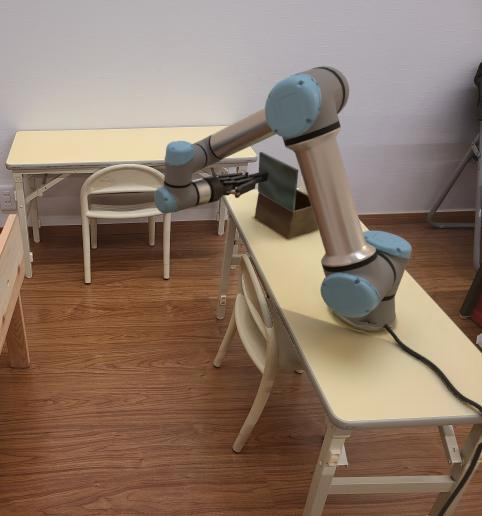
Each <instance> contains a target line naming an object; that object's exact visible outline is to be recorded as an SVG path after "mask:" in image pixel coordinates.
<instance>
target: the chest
mask: <svg viewBox="0 0 482 516" xmlns="http://www.w3.org/2000/svg"><path fill="white" fill-rule="evenodd" d="M253 218H254V219H256V220H257V221H259V222H260V223H262V224H263V225H264V226H267V228H270V229H271V230H273V231H274V232H276V233H277V234H279V235H281V236H282V237H284V238H285V239H286V240H291V239H293V238H296V237H300V236H302V235H307V234H309V233H313V232H316V231H319V230H318V226H317V223H316V220H315V216H314V213H313V210H312V207H311V203H310V200H309V197H308V195H307V194H305V193H303V192H301V191H299V189H297V190H296V201H295V211H293V212H292V211H291V210H289V209H287V208H285V207H284V206H282V205H280V204H279V203H277V202H275V201H273V200H272V199H270V198H268V197H267V196H265V195H263V194H261V193H260V192H258V193H257V199H256V206H255V211H254V217H253Z"/></svg>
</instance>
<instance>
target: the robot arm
mask: <svg viewBox="0 0 482 516" xmlns="http://www.w3.org/2000/svg"><path fill="white" fill-rule="evenodd" d="M349 97H350V85H349V82H348V79H347V77H346V76H345V75H344V74H343V73H342V72H341V71H340V70H339V69H337V68H334V67H332V66H328V65H327V66H326V65H321V66H316V67H313V68H311V69H307V70H304V71H301V72H297V73H295V74H290V75H289V76H287V77H285V78H284V79H282V80H280V81H279V82H277V83H276V84H275V85H274V86H273V87H272V88H271V90H270V91H269V93H268V95H267V97H266V100H265V104H264V106H263V107H261V108H259V109H257V110H255V111H253V112H251V113H250V114H248V115H246V116H244V117H242V118H240V119H238V120H237V121H234V122H233V123H231V124H229V125H227V126H225V127H223V128H221V129H220V130H218V131H216V132H214V133H213V134H210V135H208V136H206V137H204V138H203V139H200V140H198V141H196V142H194V143H191V142H189V141H185V140H176V141H171V142H169V143H168V144H167V145H166V147H165V156H164V174H163V175H164V176H163V177H164V178H163V185H162V186H160V187H158V188H157V189H156V190H155V191H154V194H153V200H154V201H153V202H154V204H155V208H156V209H157V211H159V212H160V213H161V214H163V215H164V214H165V215H166V214H171V213H177V212H181V211H183V210H187V209H190V208H196V207H199V206H202V205H206V204H211V203H216V202H218V201H220V200H221V199H222V197H223V196H224V197H225V196H230V195H234V198H235V199H239V198H240V197H241V196H242V195H244V194H246V193H249V192H251V191H252V190H255V189H256V184H257V185H258V183H261V182H264V181H267V180H268V175H269V172H267V171H263V172H259V171H258V172H255V173H249V171H245V172H244V173H243V172H233V173H223V174H212V175H210V176H206V177H201V178H197V179H193V180H192V178H193V174H195V173H196V172H199V171H201V170H203V169H204V168H207V167H209V166H212V165H214V164H217V163H219V162H221V161H222V160H224V159H226V158H228V157H230V156H233V155H235V154H236V153H239V152H241V151H243V150H245V149H247V148H250V147H252V146H254V145H256V144H259V143H260V142H262V141H265V140H267V139H269V138H271V137H273V136H275V135H277V136H279V137H281V138H282V140H283V145H284V147H285V148H286V149H288V150H290V151H292V152H293V153H294V154H295V157H296V161H297V165H298V166H299V170H300V171H299V172H300V175H301V174H302V177H303V181H304V184H305V187H306V190H307V194H308V197H309V200H310V203H311V207H312V210H313V213H314V216H315V220H316V223H317V226H318V230H317V231H318V233H319V236H320V239H321V242H322V246H323V249H324V255H323V256H322V258H321V259H320V263H321V267H322V271H323V274H324V276H325V277H324V278H323V280H322V282H321V285H320V289H319V290H320V297H321V299H322V300H323V302H324V304H325V305H326V306H327V307H328V308H329V309H331V312H332V314H333V316H334V317H335V318H336V319H337V320H338V321H339V322H341V323H342V324H343V325H345V326H347V327H349V328H351V329H353V330H355V331H356V330H357V331H360V332H363V333H370V334H371V333H372V334H377V333H384V332H386V331H387V333H389V335H390V336H391V337H392V339H393V340H394V341H395V342H396V343H397V345H399V346H400V347H401V348H402V349H403V350H404V351H406V352H408V353H409V354H410V355H412V356H414V357H415V358H417V359H419V360H421V361H422V362H424V364H427V365H428V366H429V367H430V368H432V369H433V370H434V371H435V372H436V374H438V375H439V376H440V378H441V379H442V380H443V383H444V384H445V385H446V386H447V387H448V389H450V391H451V392H452V393H453V394H454V395H455V396H456V397H457V398H459V400H461V401H463V402H464V403H466V404H468V405H470V406H472V407H473V408H475V409H477V410H478V411H479V412H480V413H481V414H482V405H480V404H479V403H478V402H475V401H474V400H473V399H470V398H468V397H466V396H465V395H463V394H462V393H461V392H460V391H459V390H458V389H457V388H456V387H455V386H454V384H453V383H452V382H451V381H450V379H449V378H448V377H447V375H445V373H444V372H443V371H442V370H441V369H440V368H439V367H438V366H437V365H436V364H435V363H434V362H432V361H431V360H430V359H429V358H426V356H424V355H421V354H420V353H419V352H417V351H415V350H414V349H412V348H410V347H409V346H407V345H406V344H405V343H404V342H403V341H402V340H401V339H400V338H399V337H398V336H397V334H396V333H395V332H394V331H393V329H392V327H393V325H394V323H395V320H396V315H397V313H396V295H397V292H398V290H399V286H400V284H401V282H402V279H403V277H404V274H405V272H406V271H405V270H406V269H407V265H408V263H409V260H411V255H412V252H413V247H412V245H411V244H410V242H409V241H407V240H406V239H405V238H403V237H401V236H399V235H396V234H393V233H390V232H387V231H384V230H366V231H364V232H363V227H362V224H361V221H360V218H359V214H358V210H357V207H356V203H355V199H354V196H353V193H352V189H351V186H350V183H349V179H348V175H347V172H346V169H345V165H344V162H343V158H342V155H341V151H340V148H339V144H338V141H337V136H338V134H339V133H340V131H341V129H342V126H341V123H340V118H339V114H340V113H341V112H342V111H343V110H344V109H345V107H346V105H347V103H348V100H349ZM481 454H482V441H481V442H479V443H478V444H477V447H476V449H475V452H474V455H473V457H472V459H471V461H470V464H469V466H468V468H467V469H466V471H465V473H464V474H463V476H462V478H461V480H460V481H459V482H458V484H457V486H456V487H455V489H454V490H453V491H452V493H451V494H450V496H449V497H448V499H447V500H446V501H445V503H444V505H442V508H441V509H440V511H439V512H438V514H437V516H444V515H445V514H446V512H448V511H447V510H448V509H449V508H450V506H451V505H452V503H453V502H454V501H455V499H456V498H457V497H458V495H459V494H460V492H461V491H462V489H463V488H464V487H465V485H466V483H467V482H468V480H469V479H470V477H471V476H472V473H473V471H474V470H475V468H476V467H477V464H478V461H479V459H480V457H481Z"/></svg>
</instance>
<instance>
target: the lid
mask: <svg viewBox="0 0 482 516" xmlns="http://www.w3.org/2000/svg"><path fill="white" fill-rule="evenodd" d="M258 155H259V156H258V173H259V172H263V171H267V172H269V175H268V180H267V181H264V182H261V183H257V192H258V193H259V192H260V193H261V194H263V195H265V196H267V197H268V198H270V199H272V200H273V201H275V202H277V203H279V204H280V205H282V206H284V207H285V208H287V209H289V210H291V211H292V212H293V211H295V201H296V190H298V180H299V179H298V178H299V169H298V168H296V167H294V166H292V165H290V164H288V163H286V162H284V161H281V160H280V159H277V158H276V157H274V156H271V155H269V154H268V153H265V152H263V151H259V153H258Z"/></svg>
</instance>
